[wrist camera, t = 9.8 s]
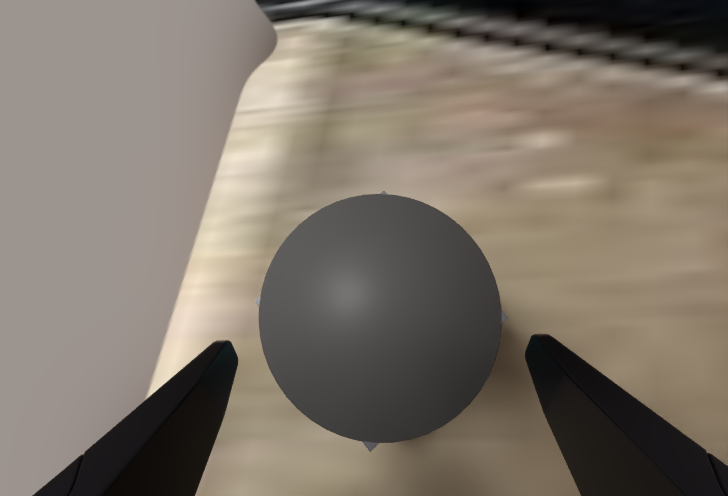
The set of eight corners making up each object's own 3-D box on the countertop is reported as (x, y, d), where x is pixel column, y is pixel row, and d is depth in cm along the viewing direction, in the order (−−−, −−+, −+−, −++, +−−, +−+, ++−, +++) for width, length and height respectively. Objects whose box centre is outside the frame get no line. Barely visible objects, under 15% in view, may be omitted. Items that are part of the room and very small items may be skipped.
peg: (369, 372, 18) (349, 503, 6) (320, 301, 20) (215, 281, 7) (437, 319, 19) (555, 334, 6) (386, 253, 20) (399, 153, 7)
